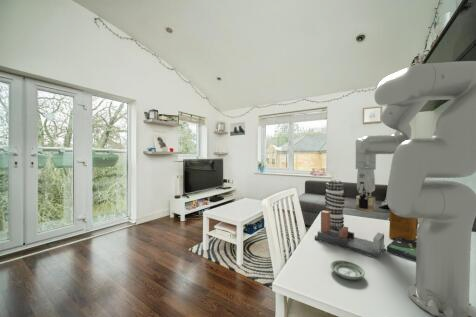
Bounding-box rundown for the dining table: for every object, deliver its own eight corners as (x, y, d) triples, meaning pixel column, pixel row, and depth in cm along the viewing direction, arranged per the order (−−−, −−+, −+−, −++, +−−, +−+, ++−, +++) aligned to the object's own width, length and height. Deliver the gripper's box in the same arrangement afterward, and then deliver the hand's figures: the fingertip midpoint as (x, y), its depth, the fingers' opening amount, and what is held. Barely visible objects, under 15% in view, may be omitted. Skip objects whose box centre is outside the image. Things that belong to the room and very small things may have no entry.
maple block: (371, 213, 84) (372, 197, 84) (355, 210, 89) (356, 194, 89) (374, 210, 88) (375, 195, 88) (359, 207, 92) (359, 193, 92)
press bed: (378, 258, 73) (378, 241, 73) (314, 238, 90) (314, 224, 90) (384, 248, 81) (384, 232, 81) (324, 232, 98) (324, 219, 98)
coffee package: (421, 238, 91) (422, 190, 90) (413, 245, 84) (414, 193, 83) (395, 231, 99) (395, 187, 98) (385, 237, 92) (385, 189, 91)
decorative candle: (348, 233, 96) (349, 181, 96) (329, 233, 96) (329, 182, 96) (339, 226, 105) (339, 179, 105) (321, 226, 105) (321, 179, 105)
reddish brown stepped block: (342, 241, 84) (342, 217, 84) (318, 234, 91) (319, 212, 91) (348, 236, 89) (348, 213, 89) (325, 230, 96) (325, 209, 96)
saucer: (334, 263, 71) (334, 256, 71) (366, 273, 65) (366, 266, 65) (326, 276, 63) (326, 268, 63) (362, 289, 57) (362, 281, 57)
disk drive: (397, 242, 88) (386, 252, 79) (397, 236, 88) (386, 245, 79) (430, 251, 80) (421, 264, 70) (430, 244, 80) (421, 256, 70)
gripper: (370, 167, 79) (370, 212, 80) (380, 165, 91) (379, 205, 91) (349, 166, 85) (349, 209, 85) (361, 165, 97) (361, 202, 97)
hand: (365, 206), depth 88 cm, fingers closed on maple block, 5 cm apart
